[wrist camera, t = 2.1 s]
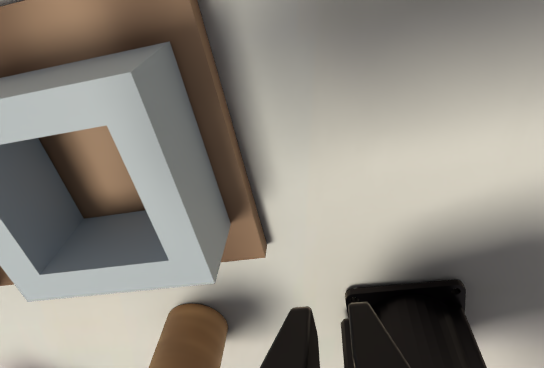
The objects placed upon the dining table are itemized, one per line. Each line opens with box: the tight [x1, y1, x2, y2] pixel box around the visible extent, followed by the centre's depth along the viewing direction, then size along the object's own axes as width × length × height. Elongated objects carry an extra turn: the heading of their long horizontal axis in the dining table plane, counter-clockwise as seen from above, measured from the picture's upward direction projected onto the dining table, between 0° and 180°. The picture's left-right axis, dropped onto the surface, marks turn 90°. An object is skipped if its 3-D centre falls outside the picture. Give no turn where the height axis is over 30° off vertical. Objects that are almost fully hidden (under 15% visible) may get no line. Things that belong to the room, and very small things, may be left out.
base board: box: [0, 0, 267, 286], centre depth 18 cm, size 18×14×6 cm
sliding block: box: [0, 41, 231, 302], centre depth 17 cm, size 9×9×4 cm
